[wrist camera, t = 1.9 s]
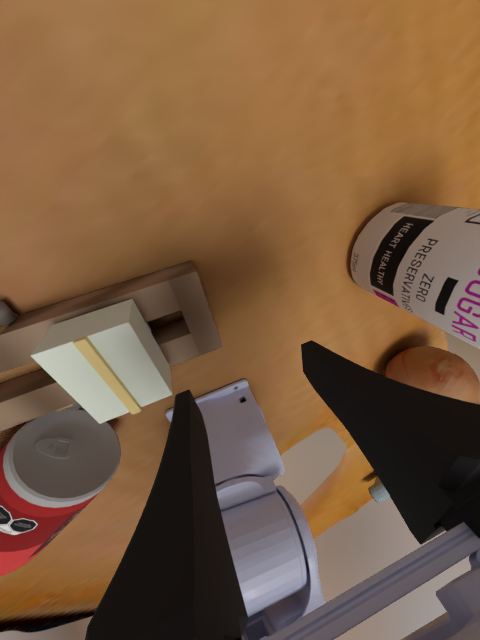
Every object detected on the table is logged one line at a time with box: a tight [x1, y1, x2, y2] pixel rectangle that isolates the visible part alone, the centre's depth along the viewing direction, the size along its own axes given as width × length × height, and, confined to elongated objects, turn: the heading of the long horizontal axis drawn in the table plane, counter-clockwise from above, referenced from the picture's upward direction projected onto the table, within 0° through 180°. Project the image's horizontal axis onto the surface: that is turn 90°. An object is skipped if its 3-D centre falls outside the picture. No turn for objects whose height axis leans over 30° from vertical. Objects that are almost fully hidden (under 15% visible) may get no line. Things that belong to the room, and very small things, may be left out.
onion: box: [385, 346, 480, 404], centre depth 30 cm, size 10×10×10 cm
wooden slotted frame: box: [0, 261, 222, 431], centre depth 17 cm, size 26×10×2 cm, turn 102°
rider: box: [31, 299, 173, 424], centre depth 16 cm, size 5×6×6 cm
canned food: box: [0, 408, 121, 576], centre depth 19 cm, size 8×8×11 cm
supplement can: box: [350, 202, 480, 349], centre depth 17 cm, size 8×8×15 cm
